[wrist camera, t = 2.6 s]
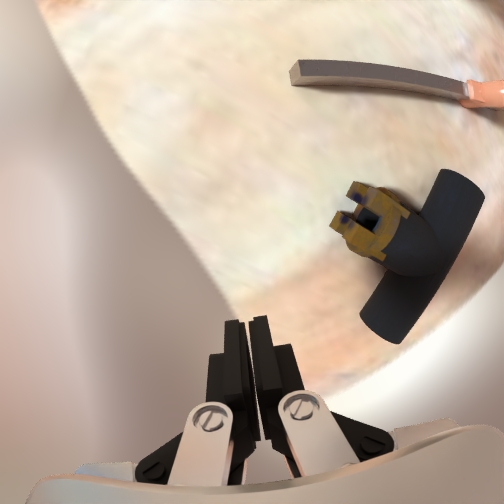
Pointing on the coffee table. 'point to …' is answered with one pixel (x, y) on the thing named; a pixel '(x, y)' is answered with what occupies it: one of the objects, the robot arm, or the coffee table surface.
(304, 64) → the guide rail
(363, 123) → the coffee table surface
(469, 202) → the pipe connector
